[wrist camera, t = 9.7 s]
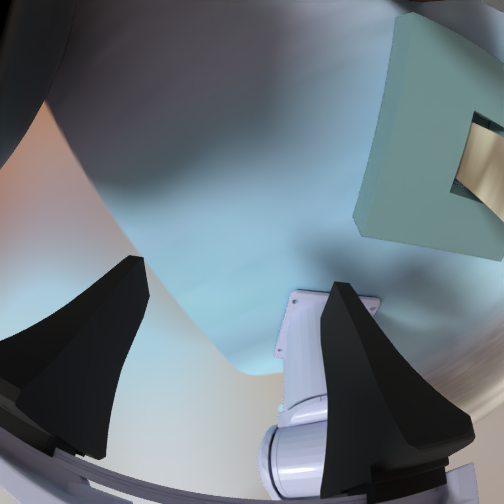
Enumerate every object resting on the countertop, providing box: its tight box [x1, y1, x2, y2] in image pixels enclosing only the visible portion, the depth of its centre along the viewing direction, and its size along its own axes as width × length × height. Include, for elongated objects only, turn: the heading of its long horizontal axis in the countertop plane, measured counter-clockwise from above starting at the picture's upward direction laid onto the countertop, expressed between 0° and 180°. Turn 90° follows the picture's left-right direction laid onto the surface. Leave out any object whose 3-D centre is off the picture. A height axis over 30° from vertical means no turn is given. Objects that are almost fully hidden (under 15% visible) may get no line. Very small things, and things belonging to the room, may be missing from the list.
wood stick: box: [455, 122, 504, 222], centre depth 11 cm, size 4×2×9 cm, turn 174°
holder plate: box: [353, 12, 504, 262], centre depth 14 cm, size 14×14×2 cm
